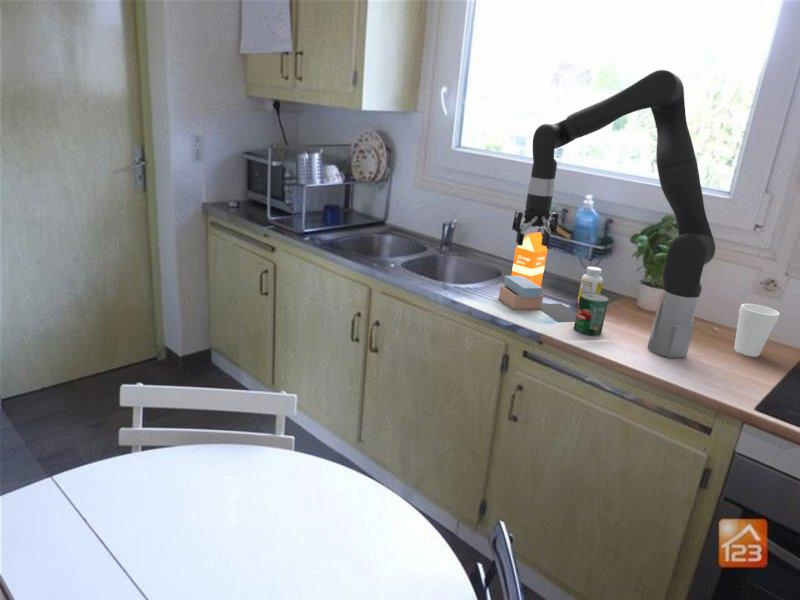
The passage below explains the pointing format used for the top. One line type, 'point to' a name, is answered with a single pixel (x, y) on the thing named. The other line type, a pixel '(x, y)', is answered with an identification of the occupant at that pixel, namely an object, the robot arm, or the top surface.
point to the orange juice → (530, 258)
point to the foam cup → (754, 328)
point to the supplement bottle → (591, 281)
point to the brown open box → (519, 300)
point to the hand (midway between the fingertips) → (531, 245)
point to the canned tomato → (590, 313)
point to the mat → (559, 312)
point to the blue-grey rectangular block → (522, 286)
